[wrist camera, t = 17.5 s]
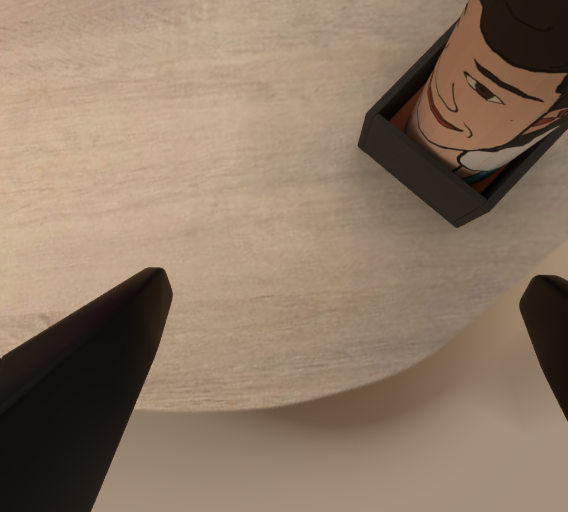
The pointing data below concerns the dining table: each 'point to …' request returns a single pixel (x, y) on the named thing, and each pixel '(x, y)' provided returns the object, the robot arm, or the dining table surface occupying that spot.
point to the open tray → (424, 167)
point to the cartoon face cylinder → (495, 86)
